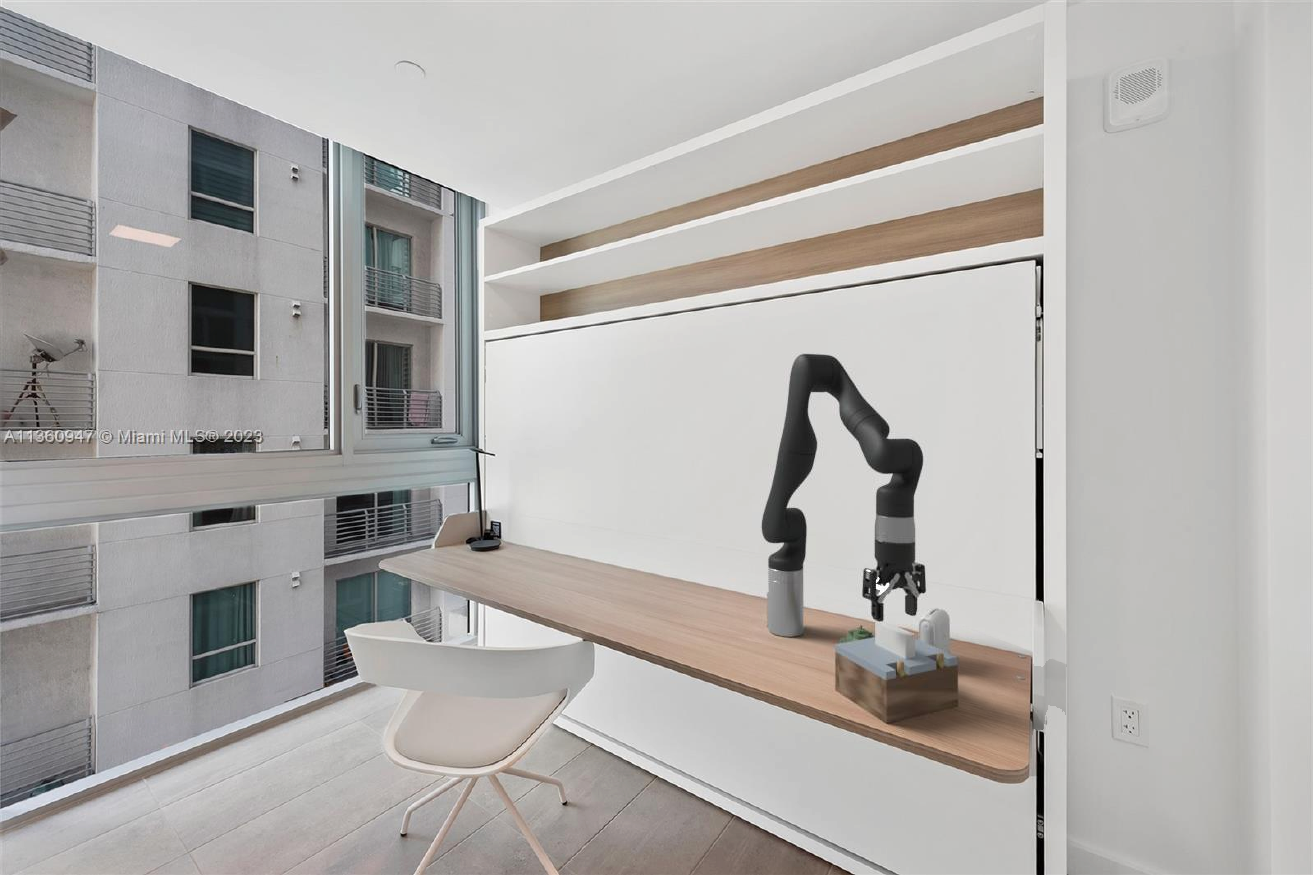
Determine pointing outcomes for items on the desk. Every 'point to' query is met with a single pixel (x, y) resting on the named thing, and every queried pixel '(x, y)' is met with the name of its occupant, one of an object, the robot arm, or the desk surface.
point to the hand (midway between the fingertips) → (894, 617)
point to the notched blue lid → (893, 652)
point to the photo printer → (935, 629)
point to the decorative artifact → (857, 635)
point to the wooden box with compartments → (898, 689)
